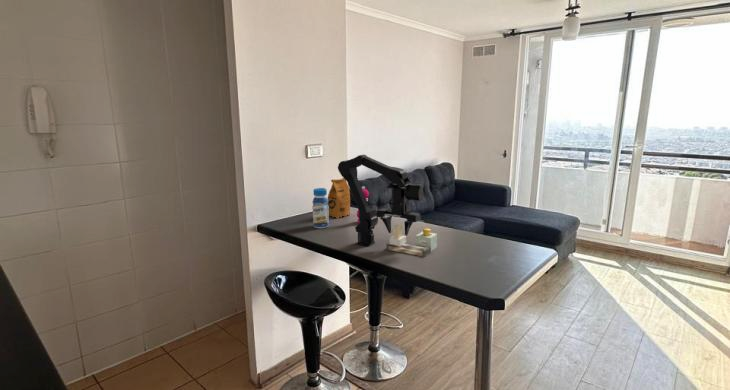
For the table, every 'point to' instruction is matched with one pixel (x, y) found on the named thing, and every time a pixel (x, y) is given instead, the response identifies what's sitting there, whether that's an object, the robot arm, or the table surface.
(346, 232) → the table surface
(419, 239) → the button housing
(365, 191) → the pepper mill
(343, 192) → the coffee package
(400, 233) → the carriage
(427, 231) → the button
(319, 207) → the beverage bottle
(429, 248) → the rail
